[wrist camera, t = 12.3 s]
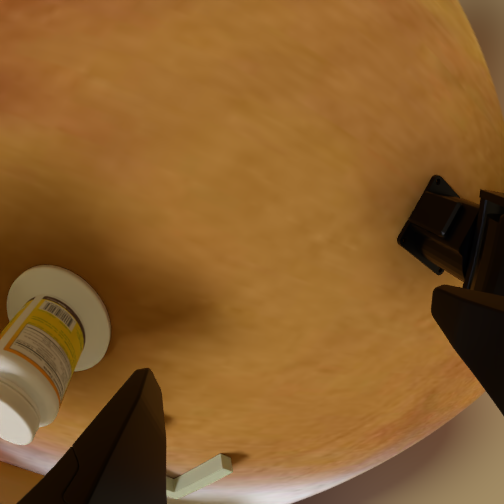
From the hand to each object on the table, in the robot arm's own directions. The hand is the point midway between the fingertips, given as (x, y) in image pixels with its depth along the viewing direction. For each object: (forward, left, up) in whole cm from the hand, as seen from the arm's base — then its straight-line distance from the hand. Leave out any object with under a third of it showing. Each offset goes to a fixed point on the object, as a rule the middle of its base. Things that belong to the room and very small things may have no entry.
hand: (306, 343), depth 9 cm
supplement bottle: (+9, +13, -12) cm, 20 cm away
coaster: (+9, +13, -13) cm, 20 cm away
